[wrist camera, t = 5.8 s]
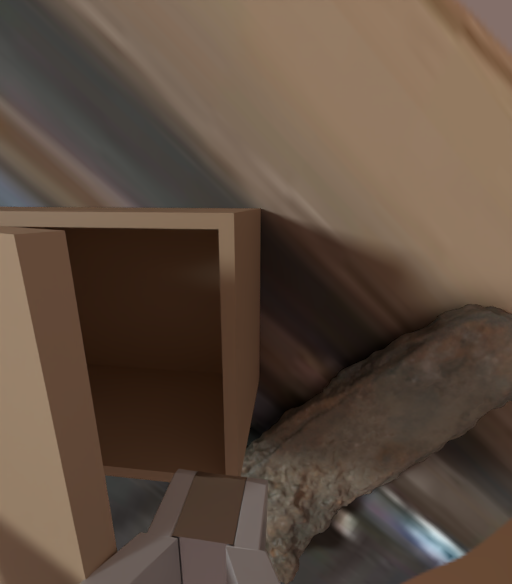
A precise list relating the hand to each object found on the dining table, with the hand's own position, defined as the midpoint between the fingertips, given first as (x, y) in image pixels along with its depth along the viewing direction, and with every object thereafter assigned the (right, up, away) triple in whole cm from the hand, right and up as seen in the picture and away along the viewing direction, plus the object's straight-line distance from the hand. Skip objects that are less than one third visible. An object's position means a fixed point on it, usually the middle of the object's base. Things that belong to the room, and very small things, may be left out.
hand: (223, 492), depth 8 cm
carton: (-9, +5, +16) cm, 19 cm away
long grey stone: (+6, -8, +19) cm, 21 cm away
